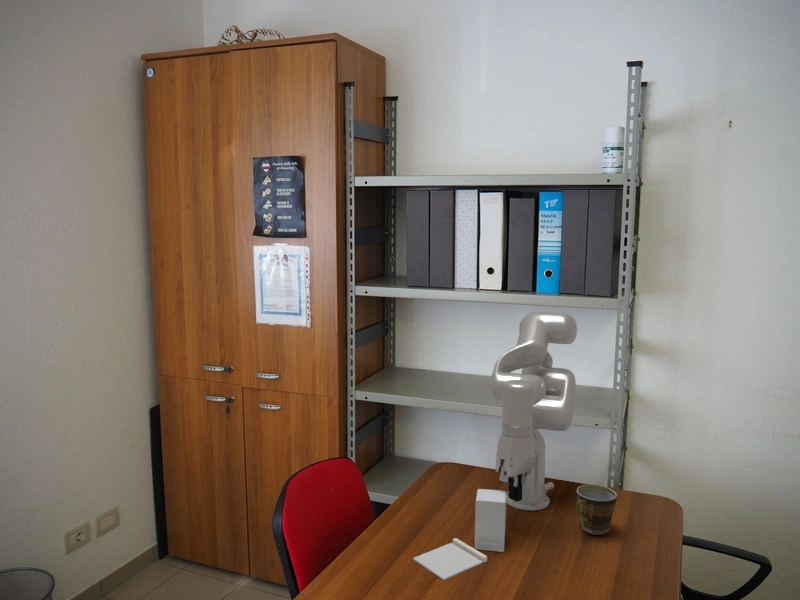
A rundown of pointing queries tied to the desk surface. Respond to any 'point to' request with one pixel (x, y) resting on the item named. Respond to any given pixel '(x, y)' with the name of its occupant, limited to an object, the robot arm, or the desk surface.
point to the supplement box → (490, 520)
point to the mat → (447, 561)
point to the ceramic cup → (596, 508)
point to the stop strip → (470, 550)
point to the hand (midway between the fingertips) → (515, 499)
